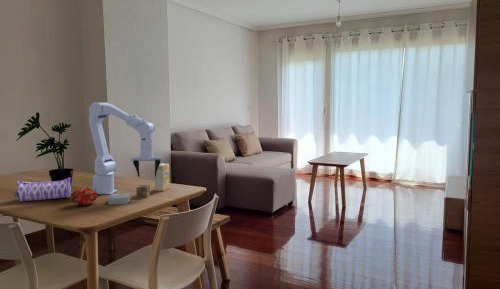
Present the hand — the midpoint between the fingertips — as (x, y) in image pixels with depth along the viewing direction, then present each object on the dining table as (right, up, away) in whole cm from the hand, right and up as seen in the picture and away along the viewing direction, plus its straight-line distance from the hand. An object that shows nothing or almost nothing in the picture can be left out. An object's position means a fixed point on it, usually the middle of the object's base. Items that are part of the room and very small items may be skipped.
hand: (147, 176), depth 176 cm
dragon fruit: (-22, -11, -16) cm, 30 cm away
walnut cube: (-2, -10, 0) cm, 10 cm away
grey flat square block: (-9, -11, -11) cm, 18 cm away
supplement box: (+4, -8, +13) cm, 16 cm away
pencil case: (-44, -10, -7) cm, 46 cm away
